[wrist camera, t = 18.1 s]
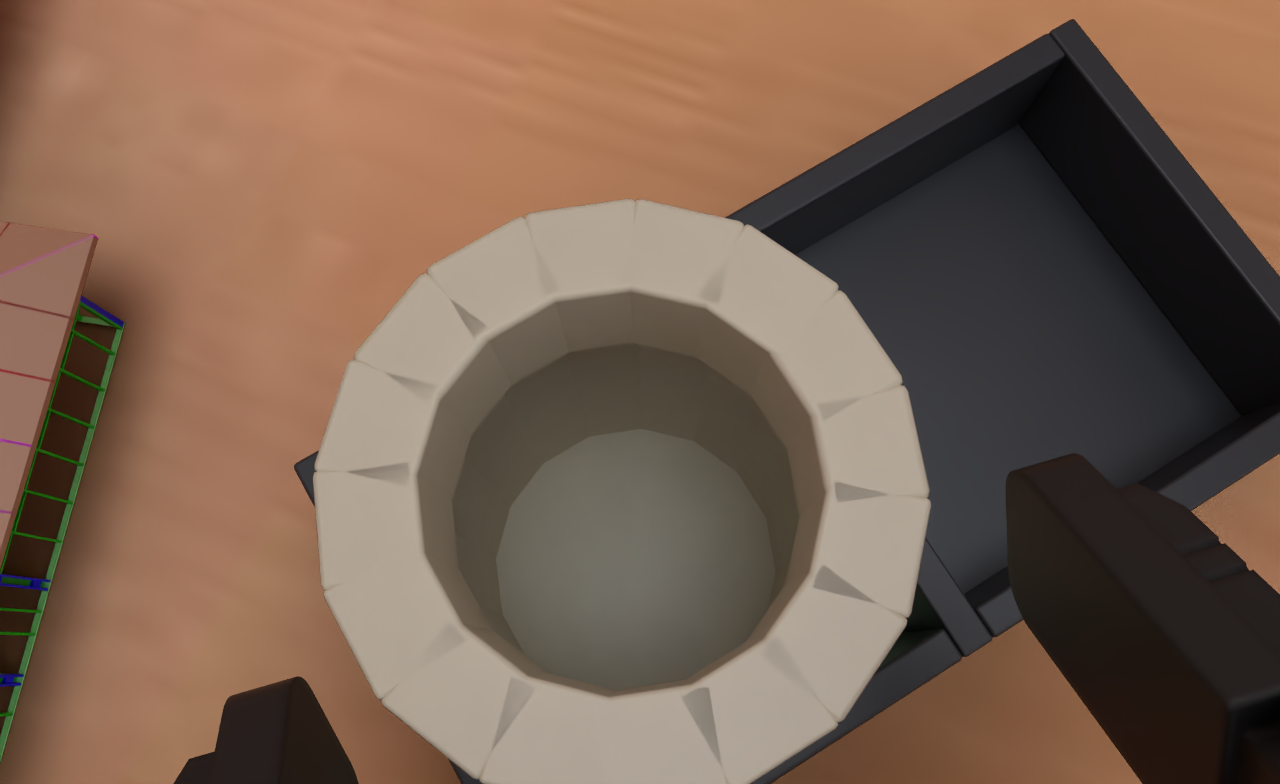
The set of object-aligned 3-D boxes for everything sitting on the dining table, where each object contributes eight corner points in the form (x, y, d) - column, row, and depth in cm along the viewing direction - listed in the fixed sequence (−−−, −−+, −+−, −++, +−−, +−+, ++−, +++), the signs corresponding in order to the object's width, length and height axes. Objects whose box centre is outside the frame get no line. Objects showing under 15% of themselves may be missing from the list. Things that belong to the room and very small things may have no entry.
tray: (1015, 104, 24) (1073, 16, 21) (1266, 431, 22) (1374, 392, 19) (345, 493, 22) (291, 464, 19) (558, 888, 20) (540, 934, 17)
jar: (686, 361, 22) (717, 102, 12) (853, 622, 20) (1052, 590, 10) (424, 515, 21) (211, 384, 11) (579, 796, 20) (502, 944, 10)
